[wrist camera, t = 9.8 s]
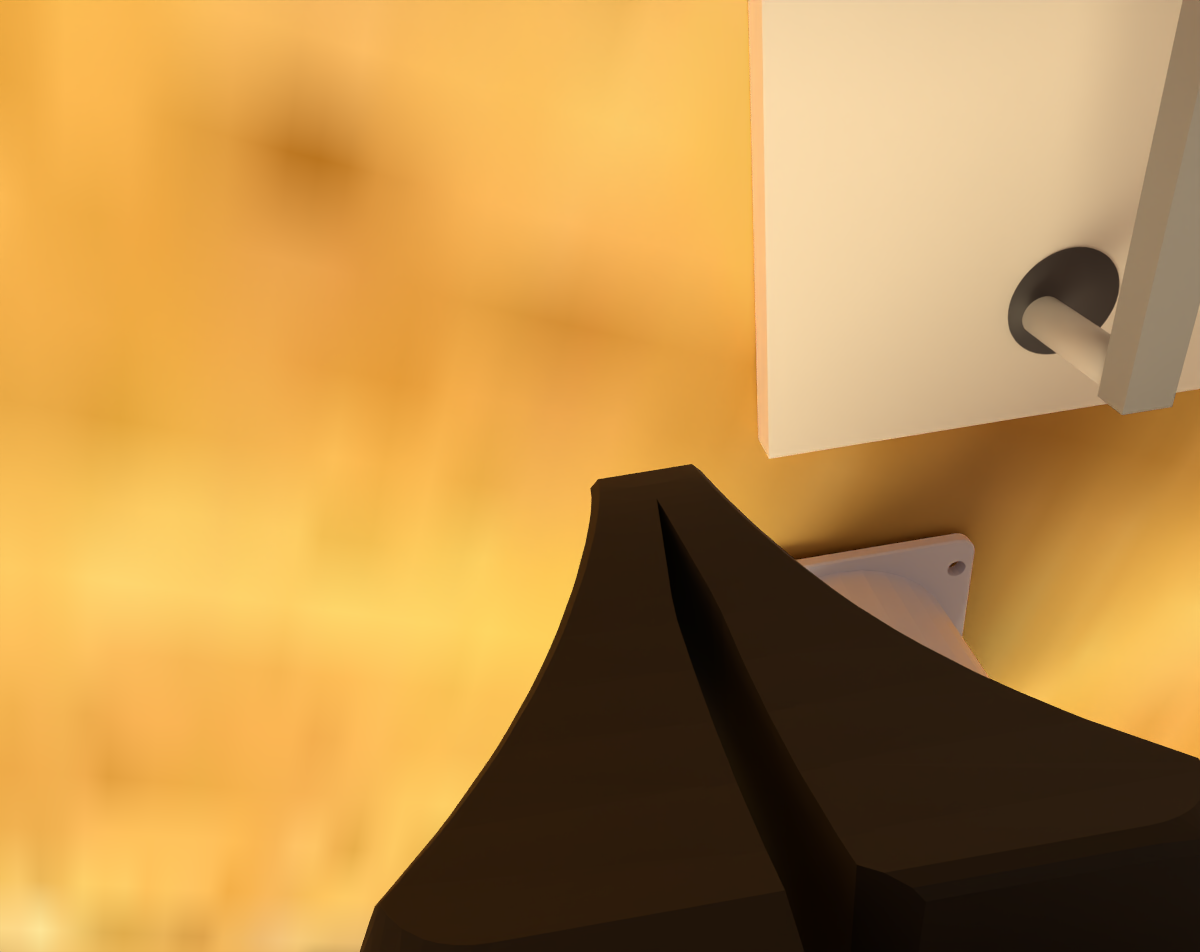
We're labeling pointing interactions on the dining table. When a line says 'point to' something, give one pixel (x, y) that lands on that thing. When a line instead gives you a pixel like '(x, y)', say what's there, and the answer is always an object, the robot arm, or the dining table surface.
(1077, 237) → the hole plate
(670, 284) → the dining table surface
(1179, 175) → the leg
